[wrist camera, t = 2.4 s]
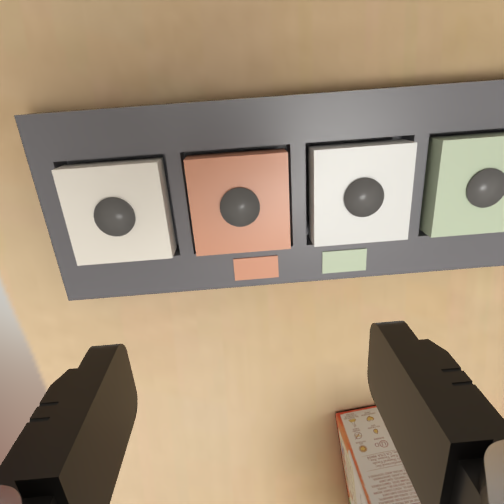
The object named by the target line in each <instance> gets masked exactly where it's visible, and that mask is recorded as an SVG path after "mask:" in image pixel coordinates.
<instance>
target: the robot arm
mask: <svg viewBox="0 0 504 504" xmlns="http://www.w3.org/2000/svg"><path fill="white" fill-rule="evenodd" d="M368 383H369V388H370V392H371V395H372V398H373V400H374V402H375V404H376V406H377V409H378V411H379V413H380V415H381V417H382V420H383V422H384V424H385V426H386V428H387V430H388V433H389V435H390V437H391V439H392V441H393V444H394V446H395V448H396V450H397V452H398V454H399V457H400V459H401V461H402V463H403V465H404V468H405V470H406V472H407V474H408V476H409V478H410V481H411V483H412V485H413V487H414V489H415V492H416V494H417V496H418V498H419V500H420V502H421V504H504V419H503V418H502V417H501V415H500V414H499V413H498V412H497V411H496V409H495V408H494V407H493V406H492V404H491V403H490V402H489V401H488V400H487V398H486V397H485V396H484V395H483V394H482V392H481V391H480V390H479V389H478V388H477V386H476V385H473V384H472V380H471V379H470V378H469V377H468V376H467V374H466V373H465V372H464V371H461V367H460V366H459V365H458V364H457V362H456V361H455V360H454V359H453V358H452V356H451V355H450V354H449V353H448V352H447V351H446V350H444V349H443V348H441V347H440V346H438V345H436V344H435V343H433V342H432V341H430V340H429V339H424V340H418V338H417V337H416V336H415V334H414V333H413V332H412V330H411V329H410V328H409V326H408V325H407V324H406V323H405V322H404V321H394V322H382V323H373V324H372V325H371V328H370V340H369V356H368ZM136 413H137V391H136V387H135V383H134V378H133V374H132V370H131V366H130V362H129V358H128V354H127V350H126V347H125V346H124V345H123V344H114V345H102V346H92V347H90V348H89V350H88V351H87V353H86V355H85V357H84V358H83V360H82V362H81V364H80V366H79V367H78V368H76V369H69V370H67V371H66V372H65V373H64V374H63V375H62V376H61V377H60V378H58V379H57V380H56V381H55V382H54V383H53V384H52V385H51V386H50V387H49V389H48V390H47V392H46V394H45V395H44V397H43V398H42V400H41V402H40V406H39V407H37V408H36V410H35V411H34V413H33V414H32V416H31V418H30V422H29V423H27V424H26V426H25V427H24V429H23V430H22V432H21V434H20V435H19V437H18V438H17V440H16V441H15V443H14V445H13V446H12V448H11V450H10V451H9V453H8V454H7V456H6V458H5V459H4V461H3V462H2V464H1V465H0V504H110V501H111V497H112V494H113V491H114V487H115V484H116V481H117V477H118V474H119V471H120V467H121V464H122V461H123V458H124V454H125V451H126V448H127V444H128V441H129V438H130V434H131V431H132V428H133V424H134V421H135V418H136Z"/></svg>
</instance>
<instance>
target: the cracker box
mask: <svg viewBox="0 0 504 504" xmlns="http://www.w3.org/2000/svg"><path fill="white" fill-rule="evenodd" d="M336 421H337V428H338V434H339V440H340V447H341V453H342V459H343V466H344V472H345V478H346V484H347V491H348V497H349V503H350V504H421V502H420V500H419V498H418V496H417V494H416V492H415V489H414V487H413V485H412V483H411V481H410V478H409V476H408V474H407V472H406V470H405V468H404V465H403V463H402V461H401V459H400V457H399V454H398V452H397V450H396V448H395V446H394V444H393V441H392V439H391V437H390V435H389V433H388V430H387V428H386V426H385V424H384V422H383V420H382V417H381V415H380V413H379V411H378V409H377V406H371V407H366V408H361V409H355V410H350V411H345V412H340V413H336Z"/></svg>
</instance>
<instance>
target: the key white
mask: <svg viewBox="0 0 504 504" xmlns="http://www.w3.org/2000/svg"><path fill="white" fill-rule="evenodd" d="M416 152H417V142H414V141H410V140H406V139H399V140H386V141H372V142H359V143H346V144H333V145H319V146H308V174H309V238H310V240H311V242H312V244H313V245H314V247H320V246H333V245H345V244H358V243H371V242H383V241H396V240H408V232H409V222H410V212H411V202H412V192H413V182H414V172H415V162H416Z"/></svg>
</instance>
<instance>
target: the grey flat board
mask: <svg viewBox="0 0 504 504" xmlns="http://www.w3.org/2000/svg"><path fill="white" fill-rule="evenodd" d="M14 116H15V120H16V123H17V127H18V130H19V133H20V137H21V140H22V144H23V147H24V150H25V154H26V157H27V161H28V164H29V167H30V171H31V174H32V178H33V181H34V184H35V188H36V191H37V195H38V198H39V201H40V205H41V208H42V212H43V215H44V218H45V222H46V225H47V229H48V232H49V235H50V239H51V242H52V246H53V249H54V252H55V256H56V259H57V263H58V266H59V269H60V273H61V276H62V280H63V283H64V286H65V290H66V293H67V296H68V300H69V301H71V300H83V299H95V298H108V297H120V296H133V295H145V294H157V293H170V292H182V291H194V290H207V289H219V288H231V287H244V286H256V285H268V284H281V283H293V282H306V281H318V280H330V279H343V278H355V277H367V276H380V275H392V274H404V273H417V272H429V271H441V270H454V269H466V268H478V267H491V266H503V265H504V232H496V233H484V234H471V235H459V236H446V237H433V238H431V237H429V236H428V235H427V234H425V233H424V232H423V231H421V230H420V229H419V224H420V215H421V206H422V197H423V188H424V179H425V170H426V161H427V152H428V143H429V137H439V136H452V135H465V134H478V133H492V132H504V79H498V80H485V81H471V82H457V83H444V84H430V85H417V86H403V87H389V88H376V89H362V90H348V91H335V92H321V93H307V94H294V95H280V96H266V97H253V98H239V99H226V100H212V101H198V102H185V103H171V104H157V105H144V106H130V107H116V108H103V109H89V110H75V111H62V112H48V113H35V114H24V115H14ZM399 139H406V140H410V141H414V142H417V152H416V162H415V172H414V182H413V192H412V202H411V212H410V222H409V232H408V240H396V241H383V242H371V243H358V244H345V245H333V246H320V247H314V245H313V244H312V242H311V240H310V238H309V174H308V146H319V145H333V144H346V143H359V142H372V141H386V140H399ZM280 148H284V149H285V150H286V151H287V152H288V171H289V205H290V239H291V249H283V250H270V251H257V252H245V253H232V254H220V255H207V256H196V250H195V242H194V235H193V228H192V220H191V213H190V206H189V198H188V191H187V183H186V176H185V169H184V161H183V160H184V159H185V157H186V156H187V155H200V154H213V153H227V152H240V151H253V150H266V149H280ZM160 157H163V164H164V170H165V176H166V183H167V189H168V195H169V202H170V208H171V215H172V221H173V227H174V234H175V240H176V246H177V248H176V251H175V253H174V256H173V258H169V259H157V260H144V261H132V262H119V263H107V264H94V265H81V266H77V262H76V259H75V255H74V251H73V248H72V244H71V240H70V237H69V233H68V229H67V226H66V222H65V218H64V215H63V211H62V208H61V204H60V200H59V197H58V193H57V189H56V186H55V182H54V178H53V175H52V171H51V170H53V169H55V168H58V167H60V166H63V165H67V164H81V163H94V162H107V161H120V160H134V159H147V158H160Z"/></svg>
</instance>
